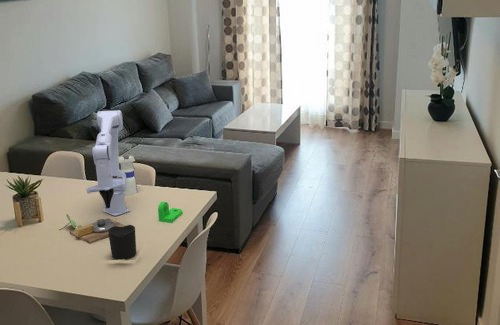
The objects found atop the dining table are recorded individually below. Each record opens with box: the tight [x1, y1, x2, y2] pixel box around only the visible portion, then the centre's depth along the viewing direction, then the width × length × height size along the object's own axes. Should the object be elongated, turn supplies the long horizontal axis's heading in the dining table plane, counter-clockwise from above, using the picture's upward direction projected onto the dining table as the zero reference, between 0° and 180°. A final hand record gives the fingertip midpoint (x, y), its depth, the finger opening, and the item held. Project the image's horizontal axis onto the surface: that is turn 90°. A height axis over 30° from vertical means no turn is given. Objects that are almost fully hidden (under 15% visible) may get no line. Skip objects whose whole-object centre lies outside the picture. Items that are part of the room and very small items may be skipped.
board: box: [69, 218, 127, 245], centre depth 221 cm, size 15×18×4 cm
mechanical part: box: [157, 201, 183, 224], centre depth 233 cm, size 12×6×8 cm, turn 160°
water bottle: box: [119, 142, 138, 196], centre depth 259 cm, size 8×9×25 cm
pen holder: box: [108, 224, 137, 261], centre depth 199 cm, size 9×9×10 cm
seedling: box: [59, 213, 78, 231], centre depth 224 cm, size 7×8×7 cm
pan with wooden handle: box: [74, 218, 114, 237], centre depth 220 cm, size 16×10×3 cm, turn 136°
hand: (107, 207), depth 219 cm, fingers closed
